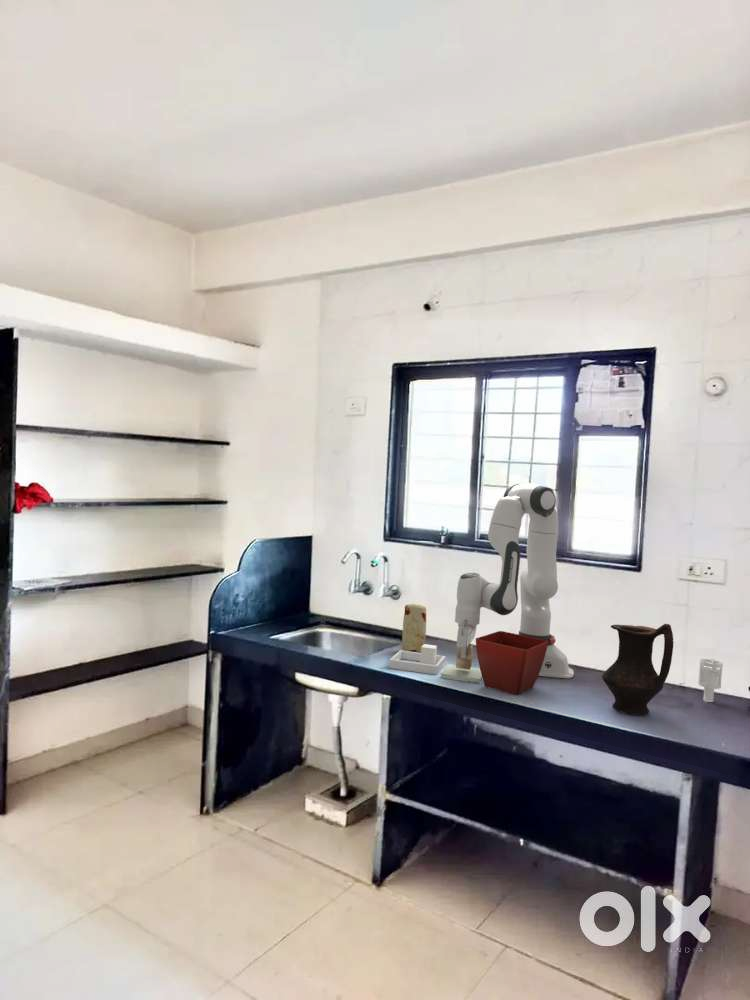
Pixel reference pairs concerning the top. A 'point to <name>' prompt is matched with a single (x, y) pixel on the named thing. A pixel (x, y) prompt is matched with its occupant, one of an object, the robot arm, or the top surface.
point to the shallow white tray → (415, 667)
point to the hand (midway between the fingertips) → (464, 655)
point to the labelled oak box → (467, 661)
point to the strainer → (710, 677)
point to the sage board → (462, 674)
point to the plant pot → (510, 661)
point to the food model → (414, 628)
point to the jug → (637, 668)
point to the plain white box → (428, 654)
